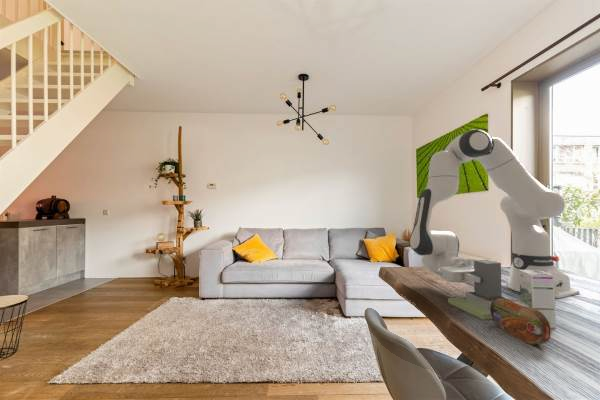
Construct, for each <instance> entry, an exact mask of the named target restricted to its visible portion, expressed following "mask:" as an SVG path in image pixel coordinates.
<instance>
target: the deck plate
mask: <svg viewBox="0 0 600 400" xmlns="http://www.w3.org/2000/svg"><path fill="white" fill-rule="evenodd" d="M501 296H502V298H506V299H511V300H513V299H512V298H509V297H507V296H505V295H502V294H501ZM492 301H493V300H487V299H484V298H482V297H479V296H477V295H475V291H466V292H465V296H460V297H459V296H457V297H449V298H448V299H447V303H448V304H450V305H452V306H454V307H456V308H459V309H460V310H463V311H465V312H466V313H469V314H471V315H472V316H475V317H477V318H479V319H481V320H483V321H484V320H493V319H492V316H491V312H490V307H491V303H492Z"/></svg>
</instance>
